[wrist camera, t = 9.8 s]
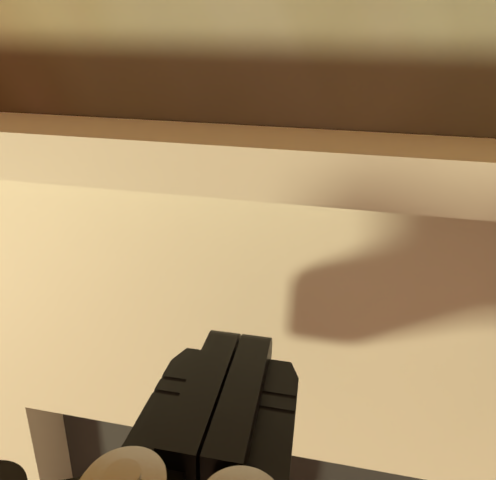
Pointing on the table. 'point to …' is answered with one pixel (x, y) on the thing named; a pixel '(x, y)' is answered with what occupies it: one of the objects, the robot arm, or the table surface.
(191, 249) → the track
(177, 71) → the table surface
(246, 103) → the table surface
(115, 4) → the table surface
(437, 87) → the table surface
